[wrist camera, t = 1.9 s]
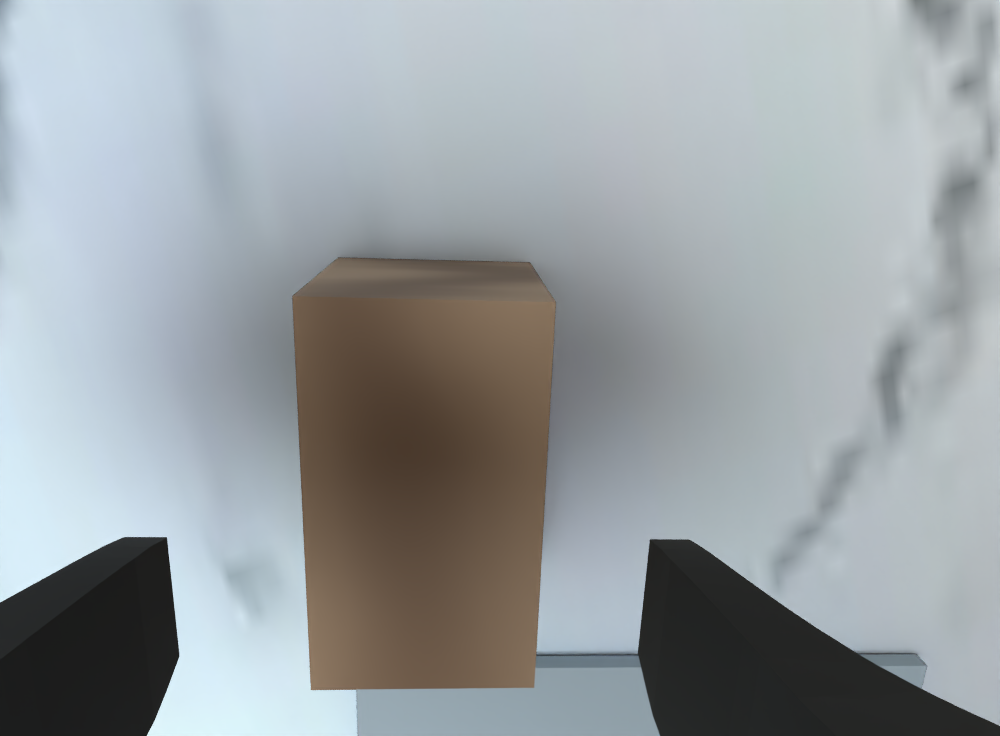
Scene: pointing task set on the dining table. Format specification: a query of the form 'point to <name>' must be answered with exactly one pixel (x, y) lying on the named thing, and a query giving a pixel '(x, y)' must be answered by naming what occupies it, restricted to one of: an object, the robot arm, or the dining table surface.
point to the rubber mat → (546, 702)
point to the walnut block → (423, 470)
